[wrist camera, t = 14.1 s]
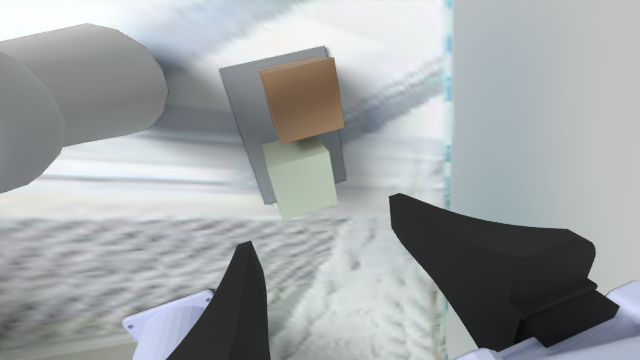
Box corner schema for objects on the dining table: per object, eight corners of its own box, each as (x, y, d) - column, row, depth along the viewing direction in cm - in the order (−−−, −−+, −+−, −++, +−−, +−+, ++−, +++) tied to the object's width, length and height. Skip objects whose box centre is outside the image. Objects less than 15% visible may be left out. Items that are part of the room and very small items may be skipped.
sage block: (319, 175, 23) (338, 204, 19) (275, 188, 22) (282, 220, 18) (311, 132, 21) (329, 151, 17) (261, 144, 21) (267, 168, 16)
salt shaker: (147, 17, 16) (-92, -78, 5) (192, 110, 19) (112, 195, 7) (44, 44, 15) (-533, 11, 4) (106, 136, 18) (-129, 276, 7)
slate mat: (345, 178, 24) (346, 180, 24) (264, 203, 23) (264, 204, 23) (323, 46, 19) (324, 45, 19) (218, 68, 18) (218, 69, 18)
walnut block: (323, 112, 21) (344, 127, 16) (273, 125, 20) (282, 144, 16) (312, 57, 19) (334, 57, 15) (257, 69, 18) (262, 73, 14)
